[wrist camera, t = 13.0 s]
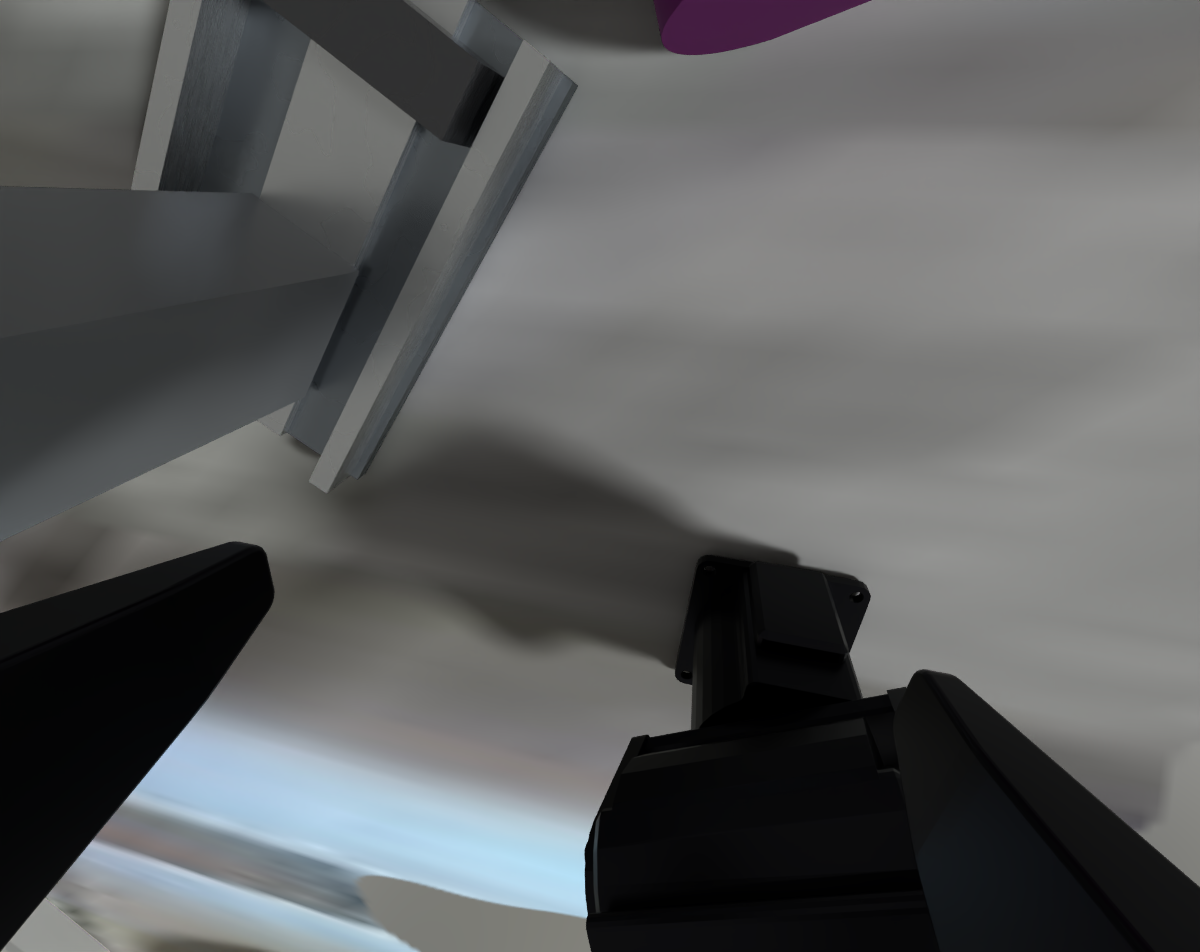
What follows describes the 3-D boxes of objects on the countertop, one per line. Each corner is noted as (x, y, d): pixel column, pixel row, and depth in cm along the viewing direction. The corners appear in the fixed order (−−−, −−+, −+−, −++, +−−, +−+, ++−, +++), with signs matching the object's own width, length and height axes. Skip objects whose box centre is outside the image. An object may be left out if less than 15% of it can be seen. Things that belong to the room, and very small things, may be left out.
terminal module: (359, 271, 18) (-232, 381, 7) (304, 397, 21) (-199, 635, 9) (224, 173, 18) (-680, 111, 6) (184, 315, 20) (-516, 460, 9)
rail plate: (270, -169, 15) (168, -256, 12) (577, 85, 16) (550, 60, 13) (146, 325, 22) (65, 342, 19) (365, 473, 23) (319, 509, 20)
